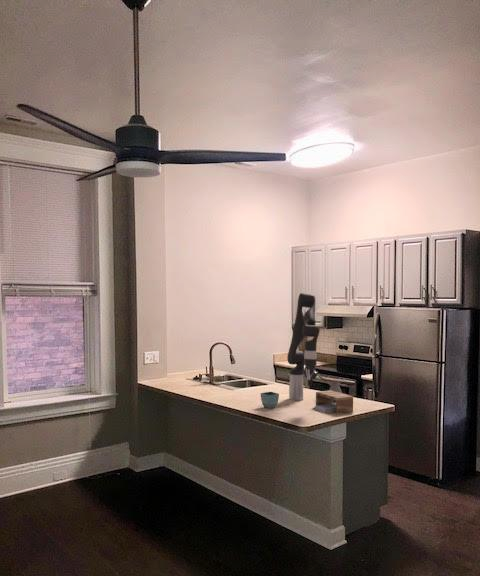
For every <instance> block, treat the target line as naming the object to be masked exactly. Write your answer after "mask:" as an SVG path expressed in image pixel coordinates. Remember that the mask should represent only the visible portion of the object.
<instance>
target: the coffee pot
mask: <svg viewBox="0 0 480 576" xmlns="http://www.w3.org/2000/svg"><path fill="white" fill-rule="evenodd" d="M317 379H320V380H322V381H323V382H324V383H326V384H328V385H329V386H330V387H329V389H328V391H329V390H331V391H335V392H339V393H343V392H342V390H341V387H340V383H341V381H337V380H336V381H335V380H332V381H330V382H328V381H327V380H326V379H325V378H323V377H322V376H320V375H319V376H318V377H317ZM332 403H336V400H334V399H332Z"/></svg>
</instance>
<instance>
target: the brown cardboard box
mask: <svg viewBox="0 0 480 576" xmlns="http://www.w3.org/2000/svg"><path fill="white" fill-rule="evenodd" d="M332 399H334V400H336V402H335V403H336V412H335V413H336V414H337V415H340V414H346V413H353V412H354V395H350V394H346V393H344V392H342V393H339V392H335V391H331V390H329V389H328V390H321V391H315V406H317V405H325V404H333V402H332Z"/></svg>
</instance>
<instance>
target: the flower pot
mask: <svg viewBox="0 0 480 576" xmlns="http://www.w3.org/2000/svg"><path fill="white" fill-rule="evenodd" d="M259 394H260V400H261V403H262V406H263V407H264V408H266V409H272V408H273V409H274V408H276V407H277V405H278V403H279V398H280V393H279V392H274V391H266V392H260V393H259Z"/></svg>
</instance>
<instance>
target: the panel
mask: <svg viewBox="0 0 480 576" xmlns="http://www.w3.org/2000/svg"><path fill="white" fill-rule="evenodd" d="M314 410H315V411H318V412H320V411H321V413H323V412H324V414H328V413H336V402H332V404H325V405H317V406H316V405H315V406H314Z"/></svg>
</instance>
